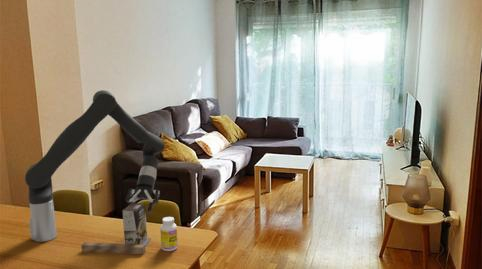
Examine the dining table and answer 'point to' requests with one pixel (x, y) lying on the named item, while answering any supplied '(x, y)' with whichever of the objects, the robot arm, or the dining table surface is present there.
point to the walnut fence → (113, 248)
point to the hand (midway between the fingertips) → (139, 211)
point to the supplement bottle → (168, 234)
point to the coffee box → (135, 223)
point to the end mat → (146, 241)
